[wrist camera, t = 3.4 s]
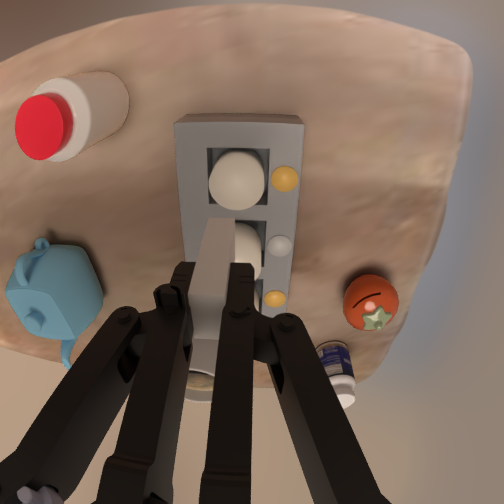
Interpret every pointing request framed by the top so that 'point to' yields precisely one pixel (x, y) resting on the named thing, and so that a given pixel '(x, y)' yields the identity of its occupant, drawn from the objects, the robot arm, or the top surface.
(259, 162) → the button
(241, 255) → the button middle
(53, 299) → the teapot
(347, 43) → the top surface
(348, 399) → the pill bottle
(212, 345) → the mug
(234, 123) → the console
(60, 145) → the pill bottle
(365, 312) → the tomato
